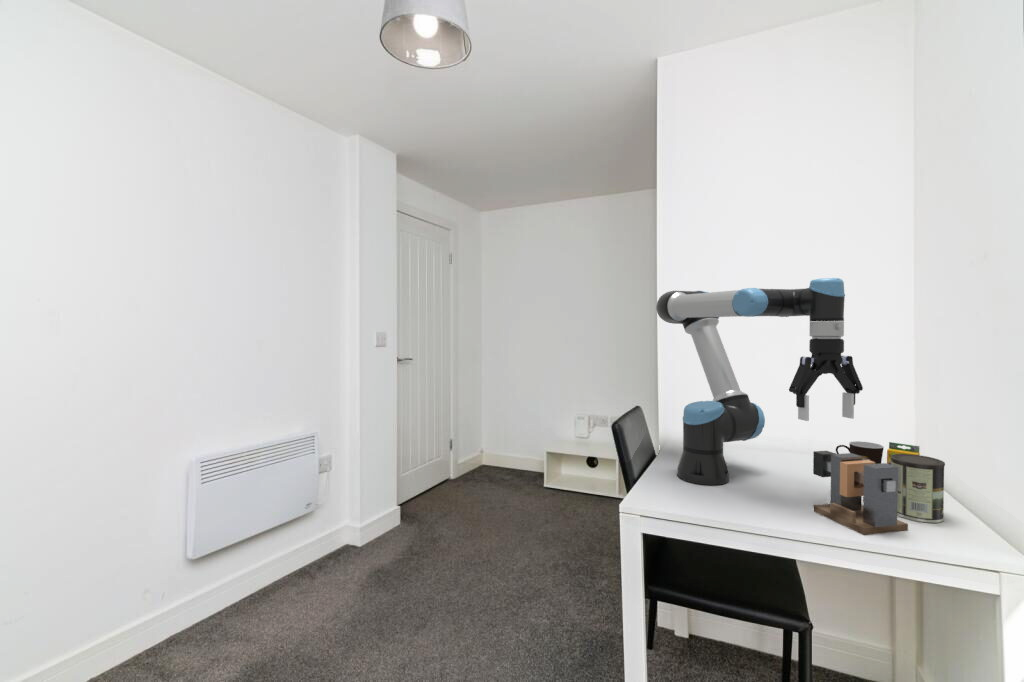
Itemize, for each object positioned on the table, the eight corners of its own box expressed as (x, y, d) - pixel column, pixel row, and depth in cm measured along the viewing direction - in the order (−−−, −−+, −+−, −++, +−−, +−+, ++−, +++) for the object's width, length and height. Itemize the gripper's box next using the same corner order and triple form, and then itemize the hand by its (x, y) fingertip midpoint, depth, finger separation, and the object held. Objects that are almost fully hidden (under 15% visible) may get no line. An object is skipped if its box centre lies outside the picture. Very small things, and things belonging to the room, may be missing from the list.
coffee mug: (890, 479, 145) (890, 447, 144) (869, 482, 142) (869, 449, 142) (853, 468, 156) (853, 438, 156) (833, 470, 153) (833, 440, 153)
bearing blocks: (830, 507, 119) (831, 454, 119) (850, 505, 120) (851, 453, 120) (875, 527, 107) (876, 468, 107) (897, 525, 108) (898, 466, 108)
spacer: (839, 494, 115) (840, 461, 115) (867, 491, 117) (867, 459, 116) (846, 497, 113) (847, 464, 113) (874, 494, 115) (875, 462, 114)
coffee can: (924, 508, 122) (925, 454, 122) (955, 524, 112) (956, 465, 112) (880, 505, 124) (881, 452, 123) (906, 522, 114) (907, 464, 113)
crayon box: (886, 481, 143) (886, 443, 142) (888, 479, 145) (888, 441, 145) (917, 487, 138) (918, 447, 137) (919, 485, 140) (920, 446, 139)
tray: (813, 511, 121) (813, 495, 120) (853, 507, 123) (853, 492, 123) (863, 534, 107) (864, 517, 107) (907, 530, 109) (908, 513, 109)
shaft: (813, 473, 125) (813, 451, 125) (826, 472, 126) (826, 450, 126) (883, 500, 106) (883, 473, 106) (898, 499, 107) (898, 472, 107)
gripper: (796, 338, 117) (795, 423, 118) (880, 337, 122) (879, 419, 122) (774, 338, 125) (773, 418, 125) (854, 337, 129) (853, 414, 130)
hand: (825, 418), depth 124 cm, fingers open, 13 cm apart
